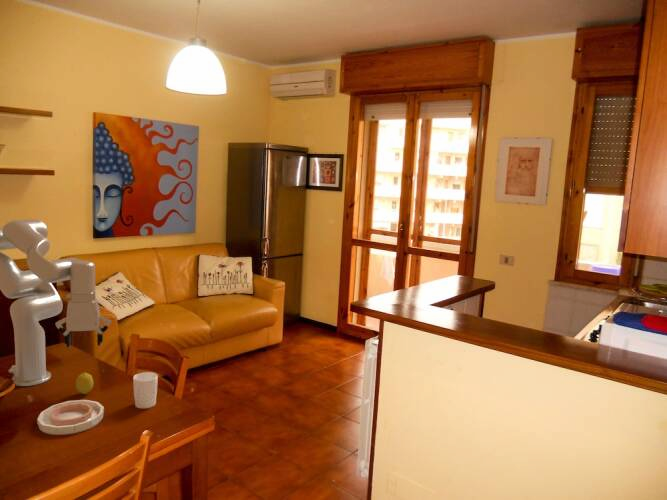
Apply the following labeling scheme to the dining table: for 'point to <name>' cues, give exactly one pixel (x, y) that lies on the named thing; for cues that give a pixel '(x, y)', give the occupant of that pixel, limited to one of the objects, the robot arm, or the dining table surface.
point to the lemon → (84, 383)
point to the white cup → (145, 389)
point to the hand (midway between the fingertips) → (84, 345)
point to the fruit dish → (70, 417)
